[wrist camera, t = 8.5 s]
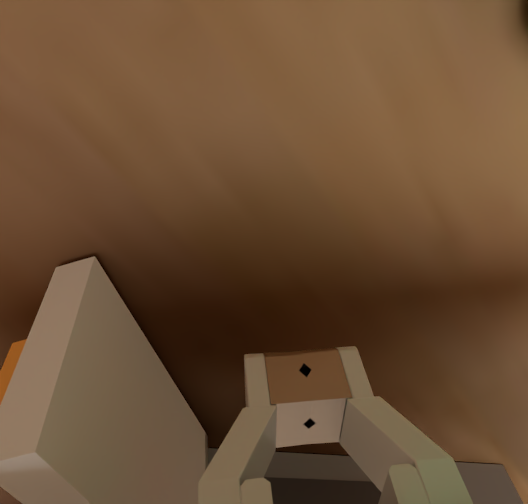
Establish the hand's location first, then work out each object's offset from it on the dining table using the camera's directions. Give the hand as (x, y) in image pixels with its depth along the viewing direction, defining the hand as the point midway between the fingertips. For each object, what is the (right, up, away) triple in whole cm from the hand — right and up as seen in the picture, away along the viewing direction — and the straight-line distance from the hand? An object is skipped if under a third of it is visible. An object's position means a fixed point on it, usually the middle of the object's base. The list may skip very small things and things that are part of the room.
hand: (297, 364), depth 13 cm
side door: (-5, -1, +4) cm, 7 cm away
